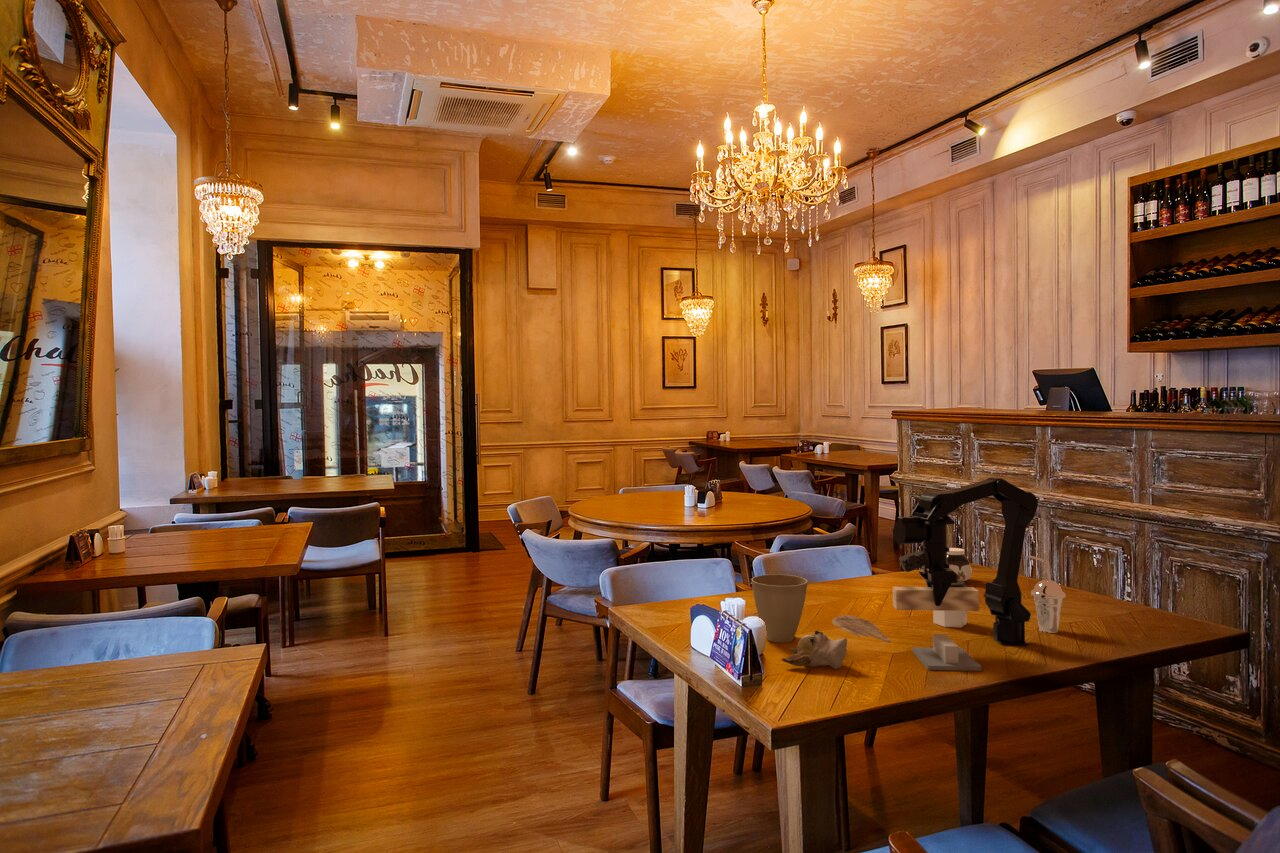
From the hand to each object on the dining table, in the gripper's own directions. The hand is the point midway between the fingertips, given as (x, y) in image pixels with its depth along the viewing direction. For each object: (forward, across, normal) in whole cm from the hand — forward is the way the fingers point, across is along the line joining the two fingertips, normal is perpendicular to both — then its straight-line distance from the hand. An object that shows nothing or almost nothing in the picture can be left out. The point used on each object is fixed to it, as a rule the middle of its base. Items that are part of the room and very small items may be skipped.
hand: (935, 603), depth 191 cm
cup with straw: (+12, -19, +34) cm, 41 cm away
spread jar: (+12, -81, +27) cm, 86 cm away
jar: (+12, -24, +10) cm, 29 cm away
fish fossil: (+12, -17, -16) cm, 26 cm away
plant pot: (+12, -7, -38) cm, 41 cm away
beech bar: (+1, 0, 0) cm, 1 cm away
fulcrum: (+12, +9, 0) cm, 15 cm away
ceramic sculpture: (+12, +14, -31) cm, 37 cm away
